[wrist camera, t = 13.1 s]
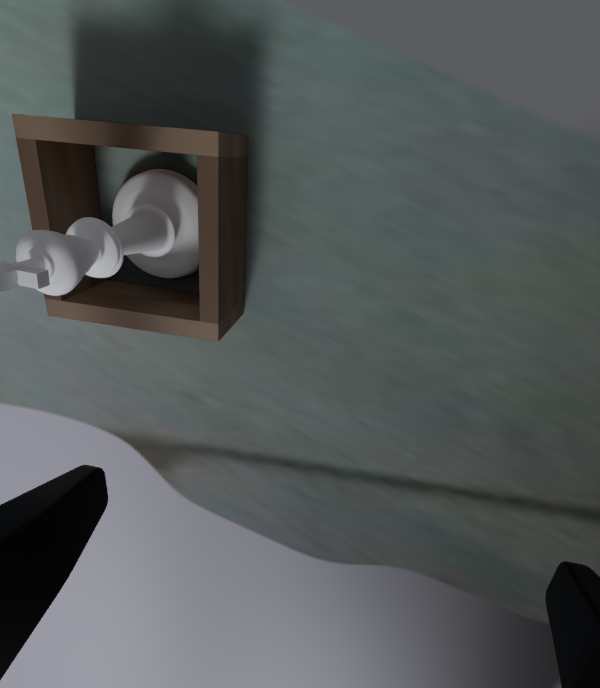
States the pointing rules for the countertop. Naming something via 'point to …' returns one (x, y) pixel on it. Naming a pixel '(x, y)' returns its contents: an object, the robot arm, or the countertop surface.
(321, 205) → the countertop surface
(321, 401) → the countertop surface
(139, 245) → the chess piece
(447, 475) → the countertop surface
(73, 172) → the walnut collar
